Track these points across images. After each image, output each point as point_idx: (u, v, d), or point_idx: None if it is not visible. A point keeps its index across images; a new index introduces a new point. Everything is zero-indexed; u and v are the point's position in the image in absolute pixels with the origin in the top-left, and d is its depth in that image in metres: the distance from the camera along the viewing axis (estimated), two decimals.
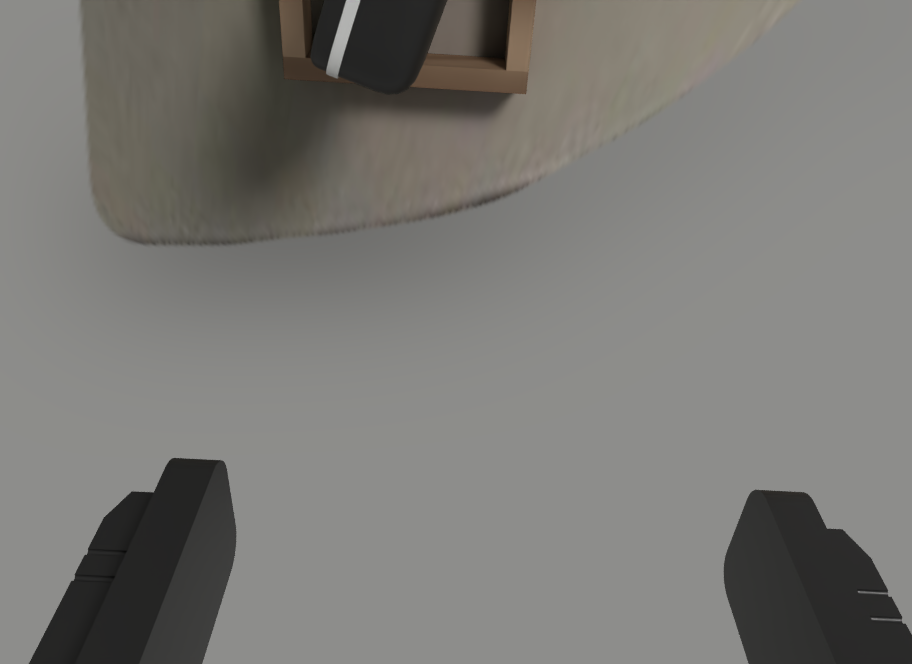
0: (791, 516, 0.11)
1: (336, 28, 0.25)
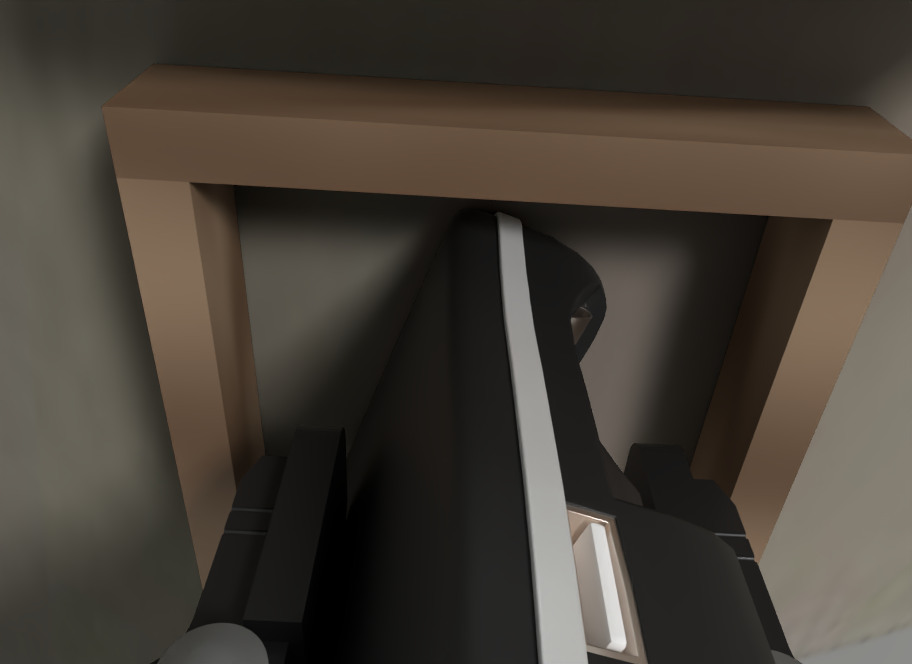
0: (661, 465, 0.11)
1: None
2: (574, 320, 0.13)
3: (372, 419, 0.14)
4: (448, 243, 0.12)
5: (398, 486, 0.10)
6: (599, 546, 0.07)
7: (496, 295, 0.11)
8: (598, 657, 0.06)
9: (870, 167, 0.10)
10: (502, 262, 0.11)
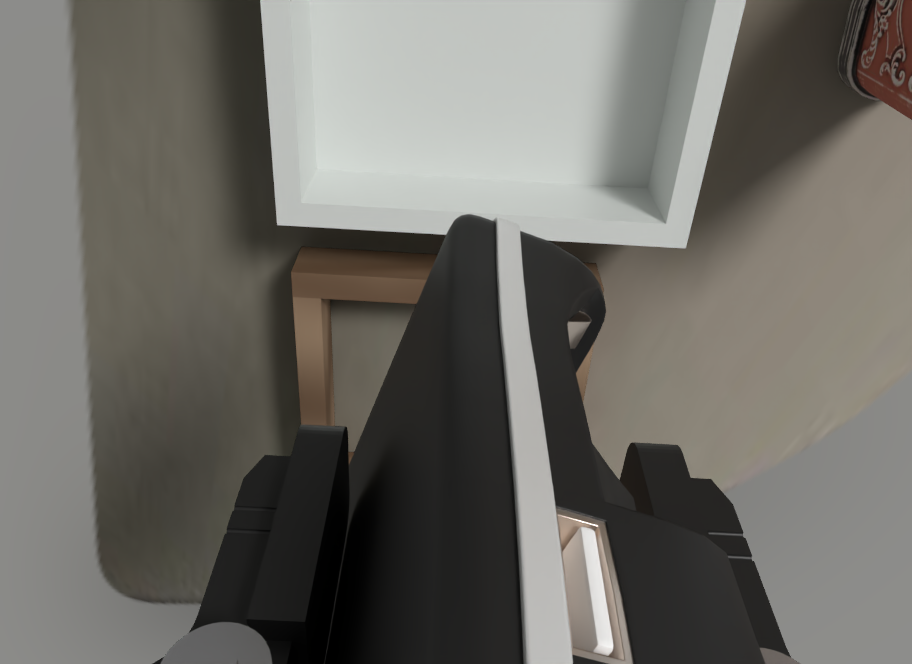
0: (658, 465, 0.11)
1: None
2: (573, 324, 0.13)
3: (374, 423, 0.14)
4: (446, 249, 0.12)
5: (395, 490, 0.10)
6: (588, 550, 0.07)
7: (492, 300, 0.11)
8: (584, 660, 0.06)
9: None
10: (499, 267, 0.11)
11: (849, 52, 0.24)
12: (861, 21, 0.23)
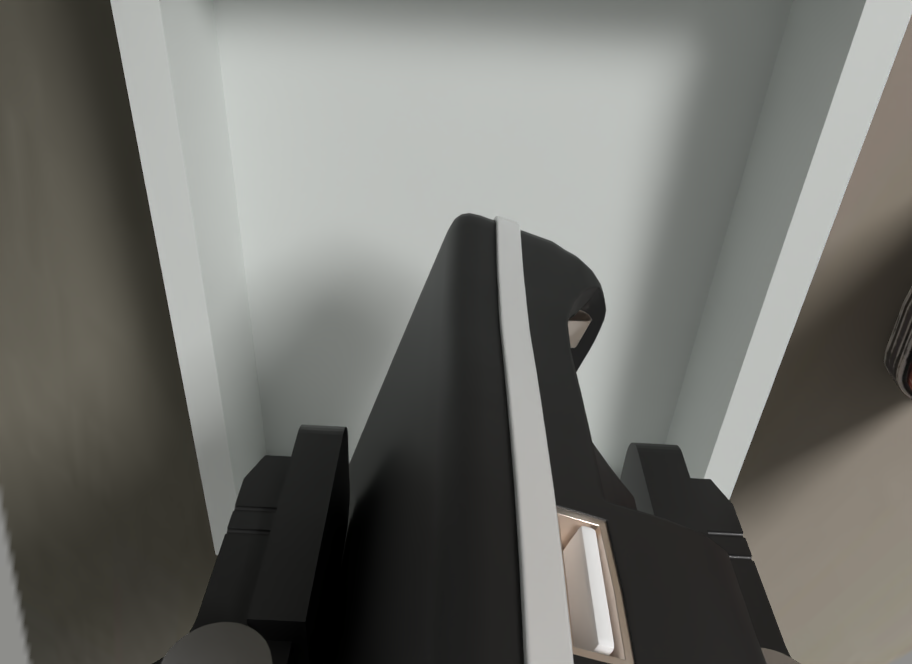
0: (658, 464, 0.11)
1: None
2: (573, 323, 0.13)
3: (374, 423, 0.14)
4: (446, 248, 0.12)
5: (395, 490, 0.10)
6: (589, 549, 0.07)
7: (492, 299, 0.11)
8: (585, 660, 0.06)
9: None
10: (499, 266, 0.11)
11: (900, 357, 0.20)
12: None
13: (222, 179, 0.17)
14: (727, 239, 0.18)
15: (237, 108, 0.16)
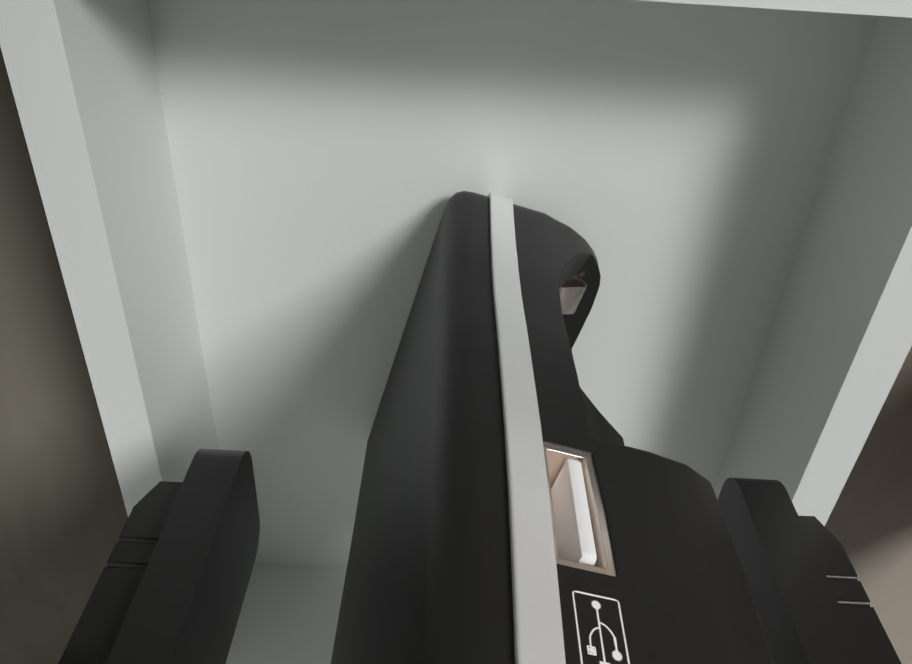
0: (763, 502, 0.11)
1: None
2: (569, 290, 0.13)
3: (387, 397, 0.15)
4: (443, 224, 0.13)
5: (402, 447, 0.10)
6: (575, 478, 0.08)
7: (486, 267, 0.11)
8: (568, 568, 0.07)
9: None
10: (492, 237, 0.12)
11: None
12: None
13: (171, 267, 0.14)
14: (773, 331, 0.15)
15: (188, 182, 0.14)
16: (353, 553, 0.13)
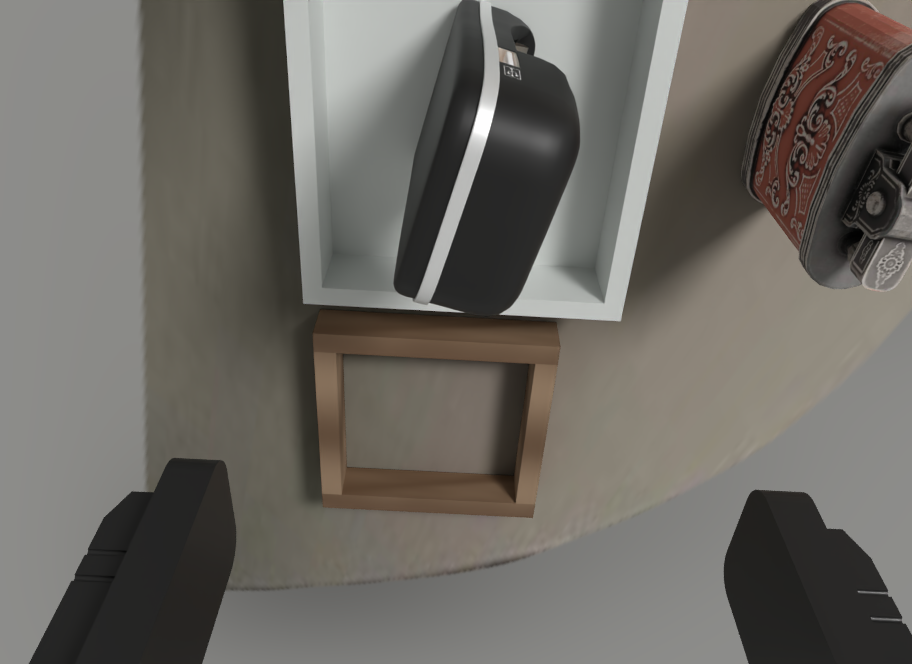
0: (791, 516, 0.11)
1: (427, 262, 0.21)
2: (519, 47, 0.27)
3: (427, 114, 0.28)
4: (457, 11, 0.27)
5: (441, 85, 0.24)
6: (508, 54, 0.22)
7: (477, 17, 0.25)
8: (503, 62, 0.21)
9: (542, 350, 0.34)
10: (480, 10, 0.26)
11: (747, 170, 0.31)
12: (755, 149, 0.30)
13: (320, 40, 0.27)
14: (629, 83, 0.29)
15: None
16: (412, 176, 0.27)
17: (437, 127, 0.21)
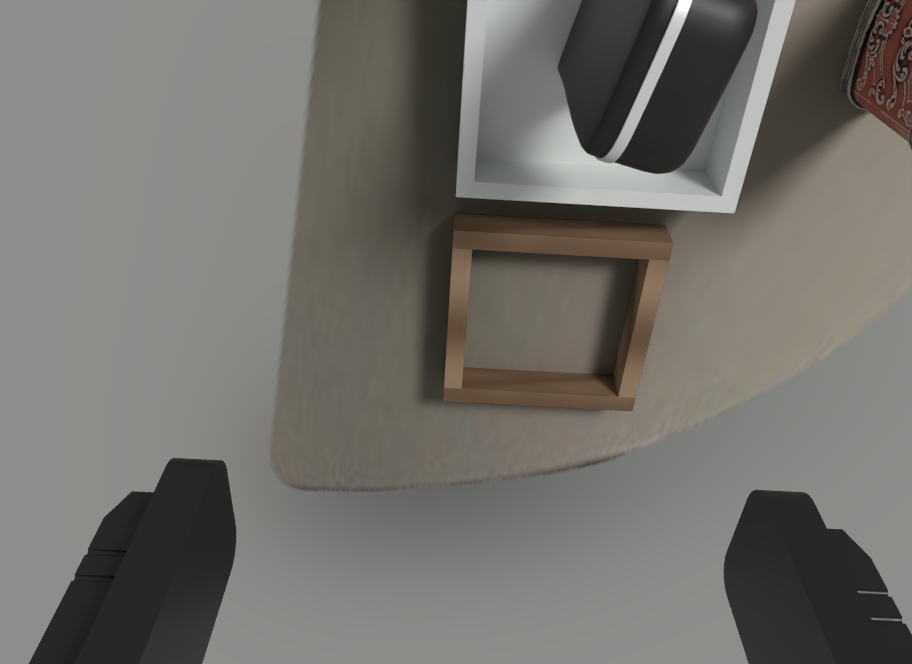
0: (791, 516, 0.11)
1: (624, 119, 0.25)
2: None
3: (577, 22, 0.33)
4: None
5: None
6: None
7: None
8: None
9: (657, 246, 0.39)
10: None
11: (848, 78, 0.35)
12: (857, 58, 0.34)
13: None
14: None
15: None
16: (571, 72, 0.31)
17: (632, 7, 0.25)
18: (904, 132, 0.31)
